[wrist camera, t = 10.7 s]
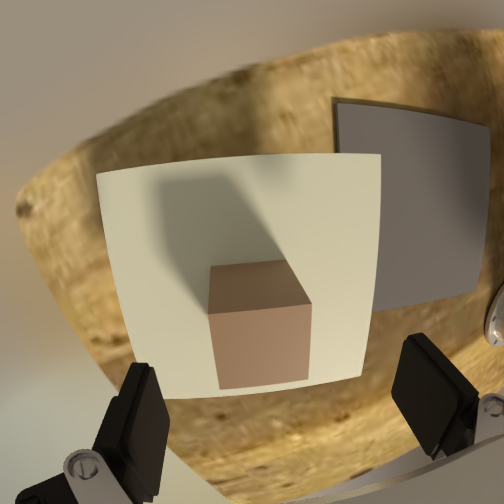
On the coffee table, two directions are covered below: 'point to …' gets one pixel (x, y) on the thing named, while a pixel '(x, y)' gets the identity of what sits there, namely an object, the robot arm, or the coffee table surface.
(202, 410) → the coffee table surface
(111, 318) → the coffee table surface
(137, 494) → the robot arm
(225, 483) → the coffee table surface
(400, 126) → the mat
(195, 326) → the lid sheet
